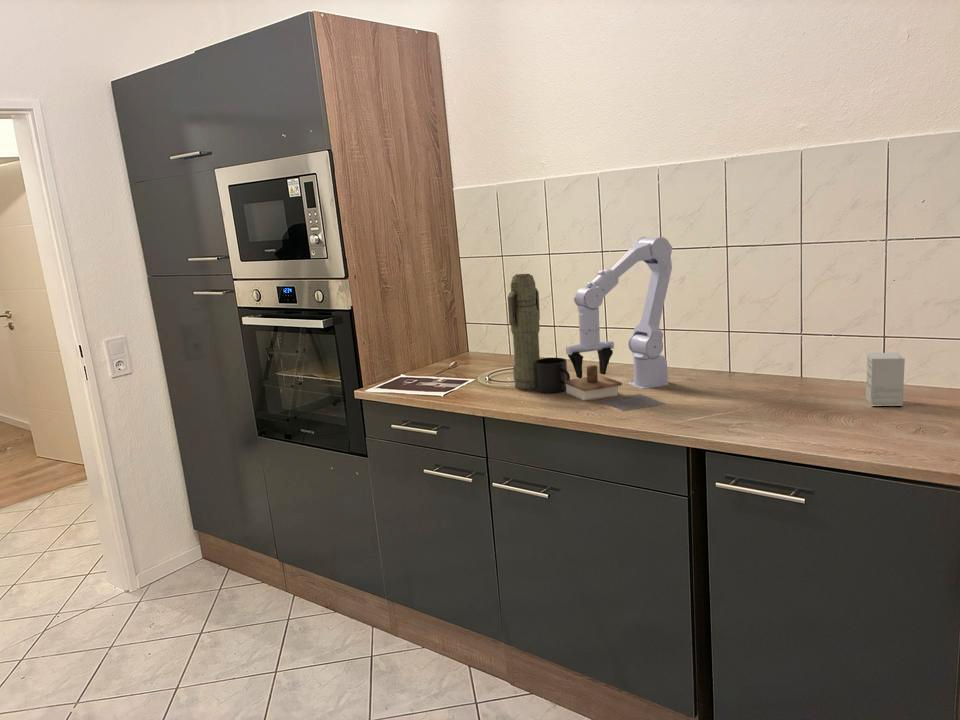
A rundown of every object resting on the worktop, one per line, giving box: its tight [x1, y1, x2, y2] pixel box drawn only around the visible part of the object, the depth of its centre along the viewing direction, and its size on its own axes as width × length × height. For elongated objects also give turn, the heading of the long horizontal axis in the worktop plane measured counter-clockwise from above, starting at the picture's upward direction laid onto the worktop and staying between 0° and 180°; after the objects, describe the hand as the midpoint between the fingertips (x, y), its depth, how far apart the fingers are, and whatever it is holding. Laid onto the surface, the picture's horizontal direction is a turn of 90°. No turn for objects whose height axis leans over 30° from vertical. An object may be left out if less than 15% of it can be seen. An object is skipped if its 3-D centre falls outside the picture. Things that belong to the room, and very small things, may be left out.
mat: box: [599, 393, 666, 412], centre depth 203 cm, size 13×13×1 cm
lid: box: [564, 364, 623, 392], centre depth 212 cm, size 12×12×5 cm
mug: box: [535, 357, 571, 394], centre depth 222 cm, size 9×12×9 cm
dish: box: [565, 384, 619, 402], centre depth 214 cm, size 11×11×4 cm
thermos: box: [507, 273, 541, 391], centre depth 226 cm, size 9×12×35 cm
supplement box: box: [865, 352, 906, 407], centre depth 186 cm, size 7×7×13 cm
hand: (591, 375), depth 213 cm, fingers open, 7 cm apart
